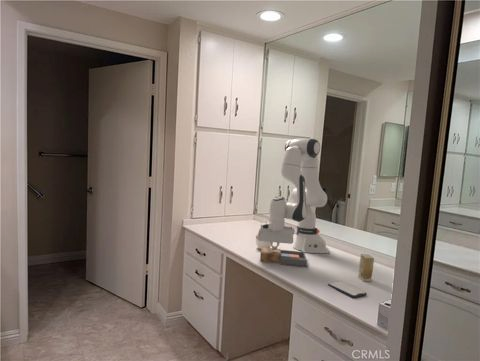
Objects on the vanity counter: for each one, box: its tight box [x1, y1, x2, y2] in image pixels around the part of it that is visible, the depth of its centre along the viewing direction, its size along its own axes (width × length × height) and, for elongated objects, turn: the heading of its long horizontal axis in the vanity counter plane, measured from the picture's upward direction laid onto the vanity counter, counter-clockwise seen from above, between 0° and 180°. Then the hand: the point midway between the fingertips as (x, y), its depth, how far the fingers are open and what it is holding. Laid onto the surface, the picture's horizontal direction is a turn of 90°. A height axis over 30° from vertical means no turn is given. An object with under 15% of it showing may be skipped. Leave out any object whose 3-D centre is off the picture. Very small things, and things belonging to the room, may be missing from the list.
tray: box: [279, 249, 308, 268], centre depth 193 cm, size 14×16×4 cm
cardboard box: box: [259, 247, 282, 264], centre depth 194 cm, size 11×12×4 cm
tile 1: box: [290, 254, 299, 259], centre depth 192 cm, size 5×5×2 cm
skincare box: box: [357, 253, 375, 283], centre depth 170 cm, size 6×4×12 cm
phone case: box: [327, 280, 367, 299], centre depth 156 cm, size 9×2×16 cm
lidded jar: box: [255, 234, 272, 250], centre depth 213 cm, size 11×11×9 cm
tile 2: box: [281, 253, 290, 259], centre depth 193 cm, size 5×5×2 cm
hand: (274, 249), depth 193 cm, fingers closed
